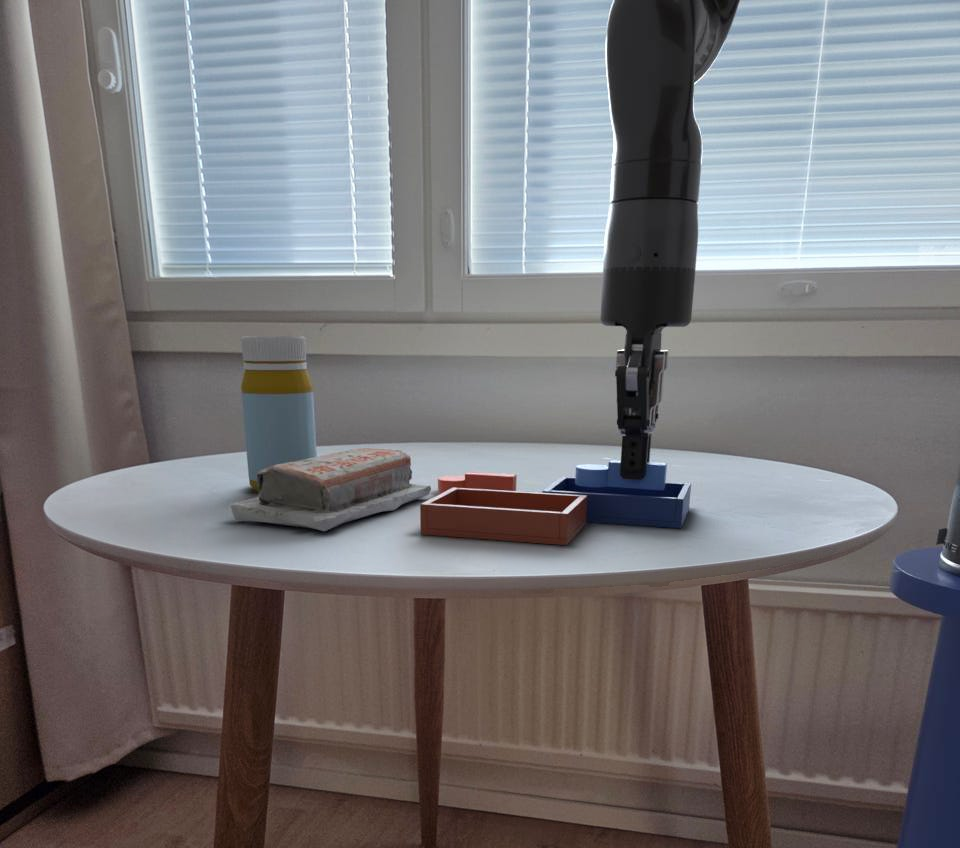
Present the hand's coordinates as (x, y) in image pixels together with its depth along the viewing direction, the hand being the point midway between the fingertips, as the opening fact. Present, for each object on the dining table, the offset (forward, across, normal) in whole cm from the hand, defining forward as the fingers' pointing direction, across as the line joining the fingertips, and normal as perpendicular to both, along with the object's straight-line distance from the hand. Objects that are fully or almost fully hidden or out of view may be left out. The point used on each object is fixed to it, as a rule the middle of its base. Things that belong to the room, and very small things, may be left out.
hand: (634, 476), depth 78 cm
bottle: (+4, +2, +36) cm, 37 cm away
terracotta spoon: (+4, +5, +16) cm, 17 cm away
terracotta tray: (+4, -9, +9) cm, 13 cm away
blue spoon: (+1, 0, +1) cm, 2 cm away
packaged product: (+4, -6, +26) cm, 27 cm away
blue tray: (+4, 0, +1) cm, 4 cm away
